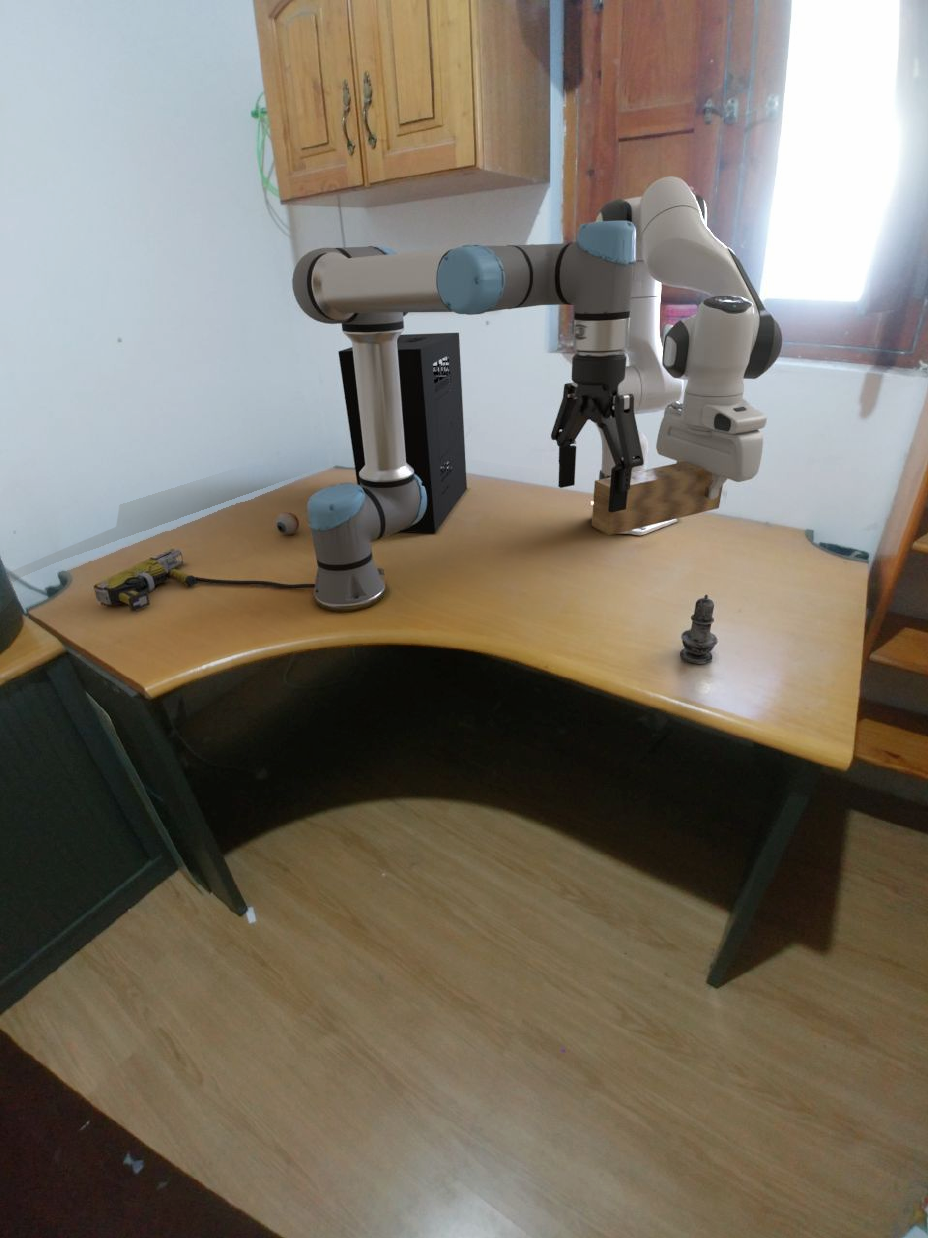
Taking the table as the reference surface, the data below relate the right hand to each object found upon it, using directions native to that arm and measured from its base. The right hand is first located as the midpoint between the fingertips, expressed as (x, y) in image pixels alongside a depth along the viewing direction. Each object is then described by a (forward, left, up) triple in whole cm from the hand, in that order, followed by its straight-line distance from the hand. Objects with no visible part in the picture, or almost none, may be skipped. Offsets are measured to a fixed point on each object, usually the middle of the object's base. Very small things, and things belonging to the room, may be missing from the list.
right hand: (697, 492), depth 105 cm
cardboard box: (+21, -86, -25) cm, 92 cm away
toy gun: (+92, -68, -25) cm, 117 cm away
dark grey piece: (+7, +12, -25) cm, 29 cm away
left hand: (+23, 0, +3) cm, 23 cm away
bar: (+9, 0, -3) cm, 9 cm away
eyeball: (+60, -85, -25) cm, 107 cm away
